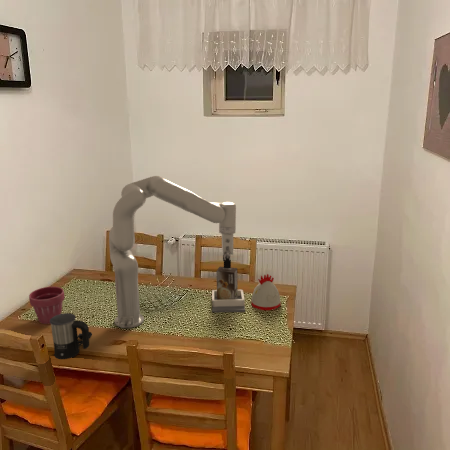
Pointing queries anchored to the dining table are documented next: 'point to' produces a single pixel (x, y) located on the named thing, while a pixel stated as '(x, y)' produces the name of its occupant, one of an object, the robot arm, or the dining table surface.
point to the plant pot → (47, 302)
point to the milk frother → (68, 335)
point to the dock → (228, 303)
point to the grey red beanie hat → (265, 295)
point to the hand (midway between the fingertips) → (226, 264)
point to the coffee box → (227, 283)
